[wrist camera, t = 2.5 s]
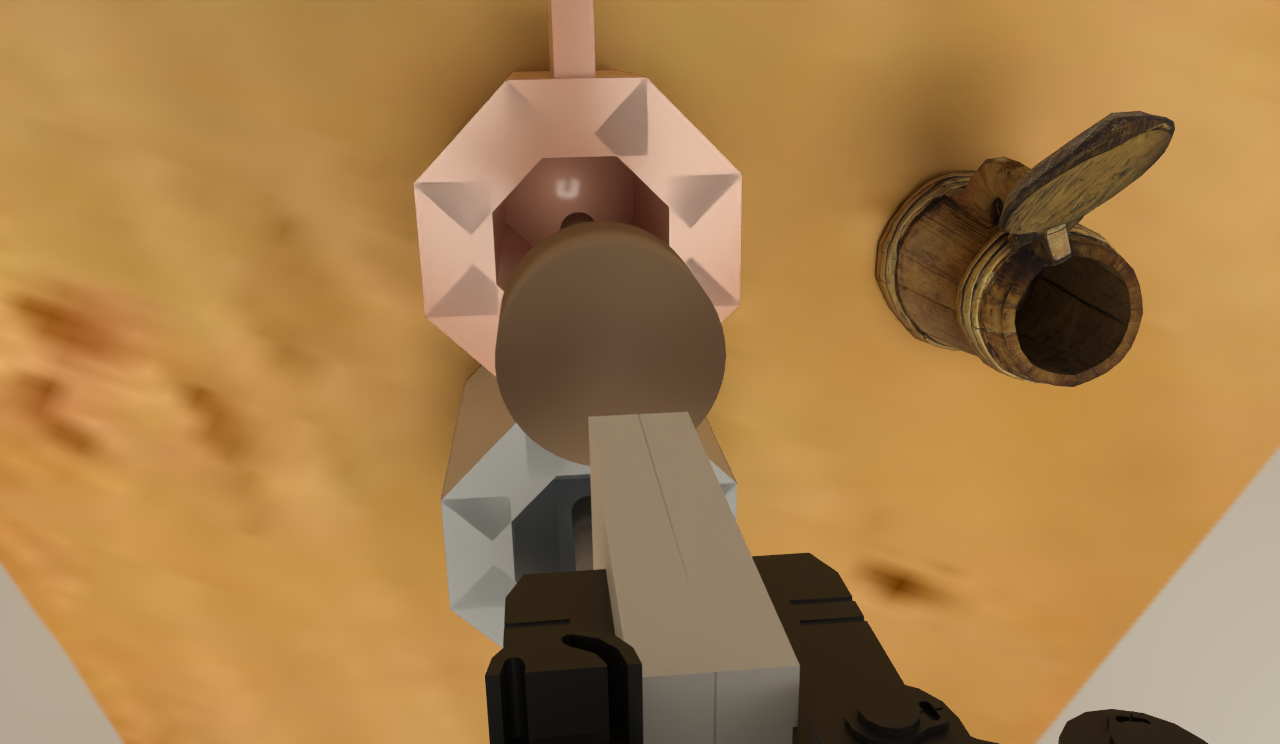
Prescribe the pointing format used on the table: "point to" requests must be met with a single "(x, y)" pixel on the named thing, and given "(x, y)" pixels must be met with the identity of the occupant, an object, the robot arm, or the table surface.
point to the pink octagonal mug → (568, 183)
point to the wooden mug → (1025, 257)
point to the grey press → (514, 505)
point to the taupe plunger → (604, 334)
